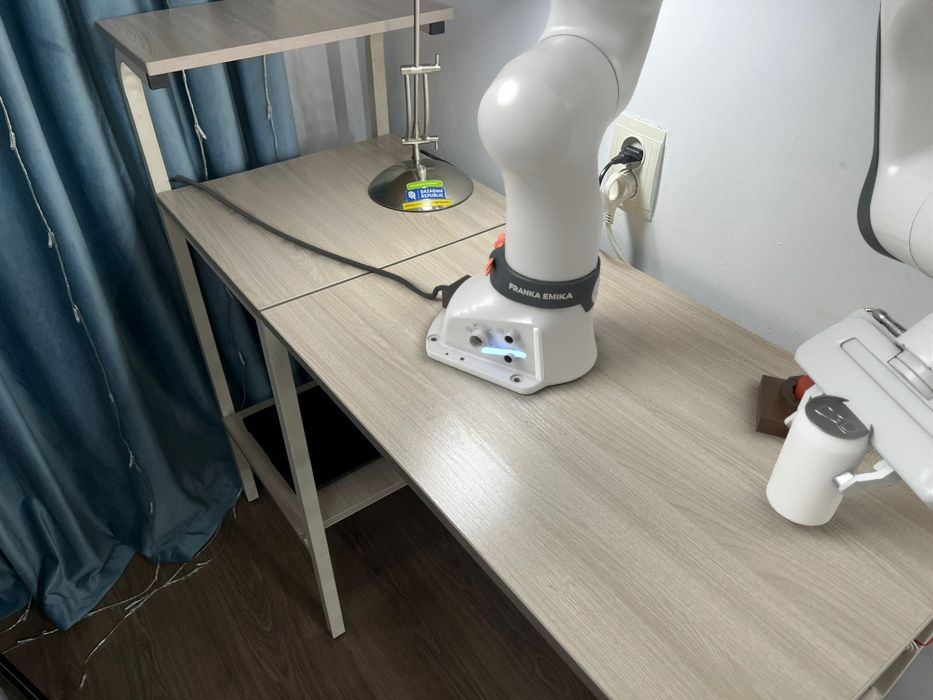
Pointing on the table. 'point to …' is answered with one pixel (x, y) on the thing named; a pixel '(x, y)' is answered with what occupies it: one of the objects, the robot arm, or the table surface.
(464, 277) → the robot arm
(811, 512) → the can
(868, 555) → the table surface
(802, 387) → the trigger button
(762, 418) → the button block
